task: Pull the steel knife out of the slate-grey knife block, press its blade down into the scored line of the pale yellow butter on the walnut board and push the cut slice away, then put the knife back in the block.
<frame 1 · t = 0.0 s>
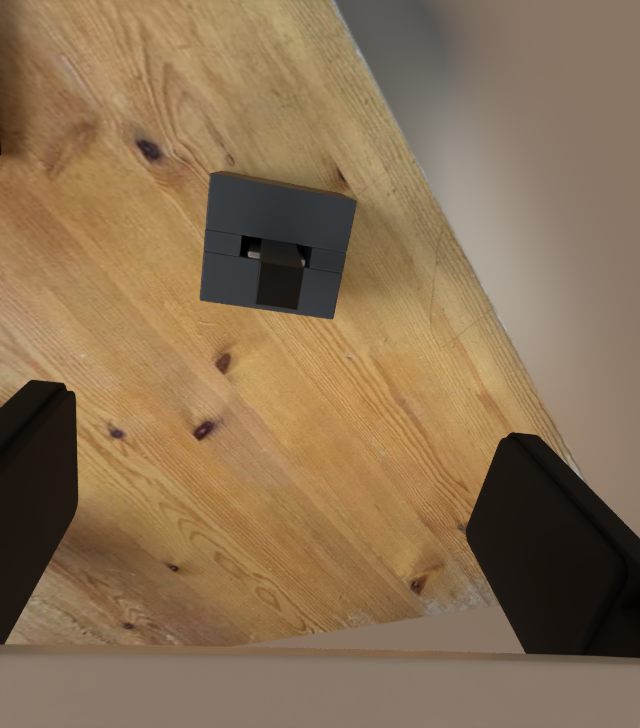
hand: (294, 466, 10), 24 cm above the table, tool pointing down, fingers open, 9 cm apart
knife: (276, 255, 25), in the knife block
knife block: (274, 236, 32), on the table
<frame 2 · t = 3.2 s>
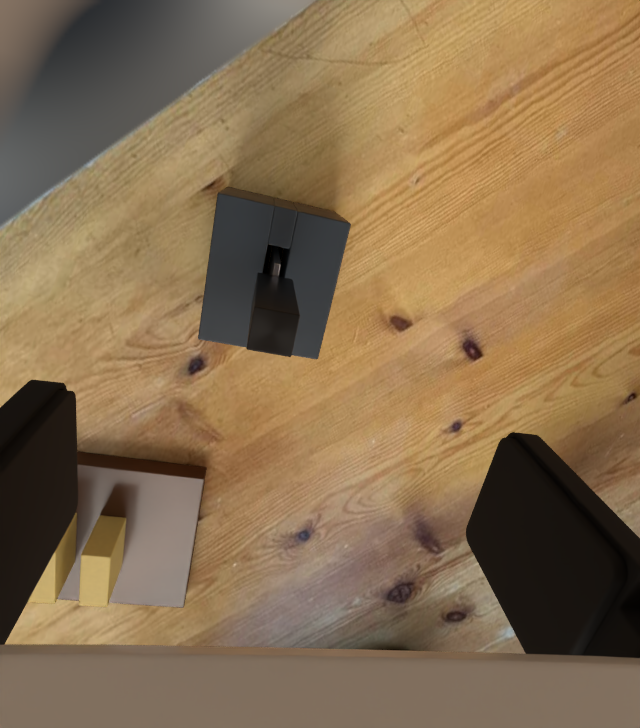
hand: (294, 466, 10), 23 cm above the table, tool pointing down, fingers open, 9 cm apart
board: (70, 522, 38), on the table
knife: (271, 287, 24), in the knife block
butter: (35, 533, 36), point 1 cm above the table, touching board
butter slice: (111, 540, 37), point 1 cm above the table, touching board
knife block: (271, 261, 31), on the table
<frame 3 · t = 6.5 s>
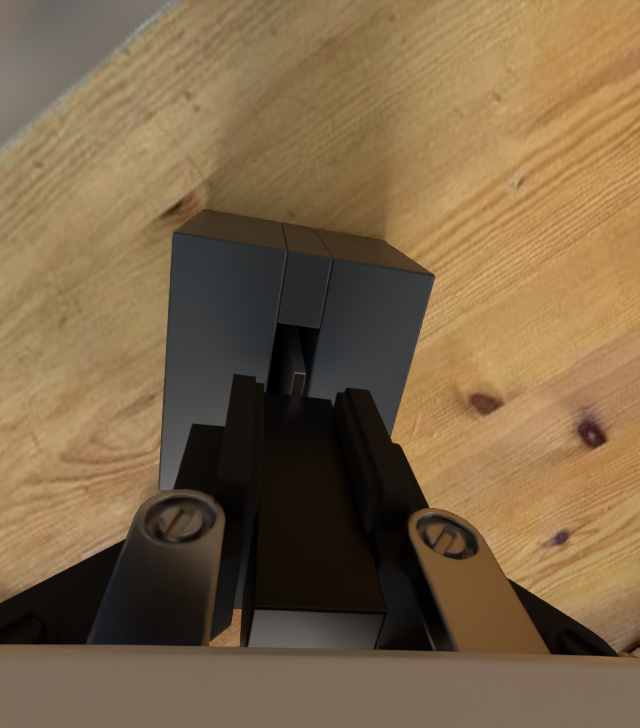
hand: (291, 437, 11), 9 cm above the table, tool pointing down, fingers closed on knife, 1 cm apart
knife: (289, 406, 13), in the knife block, touching gripper
knife block: (282, 324, 19), on the table
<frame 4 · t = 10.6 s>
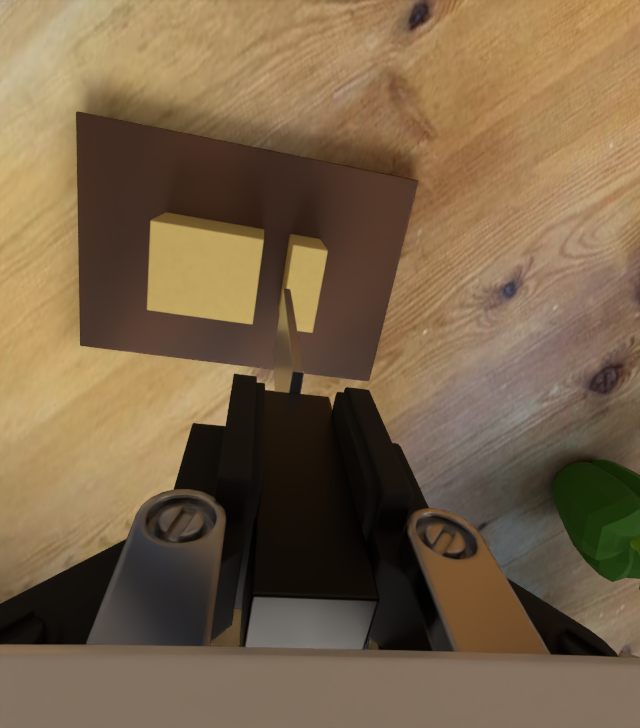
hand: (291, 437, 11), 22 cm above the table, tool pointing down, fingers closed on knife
bell pepper: (577, 480, 42), on the table
board: (244, 261, 31), on the table
knife: (288, 404, 13), point 20 cm above the table, touching gripper
butter: (212, 261, 29), point 1 cm above the table, touching board
butter slice: (298, 274, 30), point 1 cm above the table, touching board
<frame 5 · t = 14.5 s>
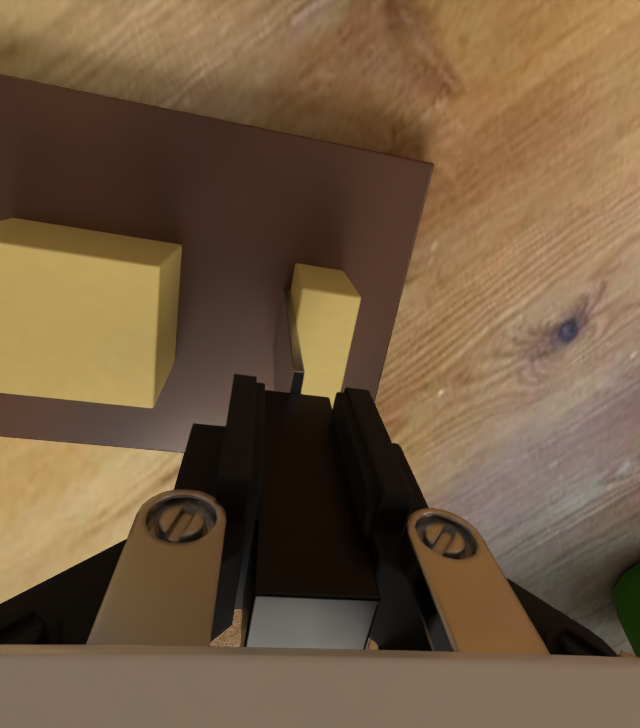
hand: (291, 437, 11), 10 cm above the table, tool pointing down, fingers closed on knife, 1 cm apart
board: (160, 293, 20), on the table
knife: (288, 404, 13), point 8 cm above the table, touching board, butter slice, gripper
butter: (99, 296, 18), point 1 cm above the table, touching board
butter slice: (309, 325, 20), point 2 cm above the table, touching board, knife
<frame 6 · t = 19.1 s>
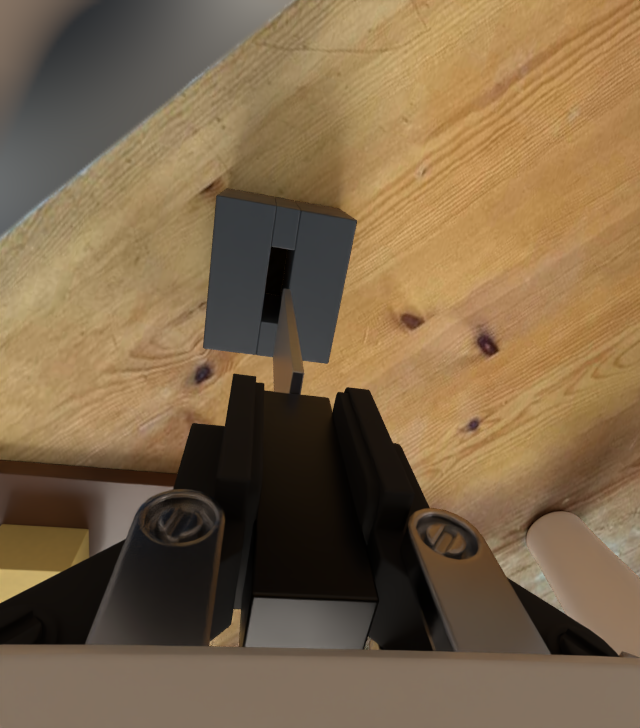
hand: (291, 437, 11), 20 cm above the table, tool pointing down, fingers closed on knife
board: (82, 538, 37), on the table
knife: (287, 404, 13), point 18 cm above the table, touching gripper
butter: (47, 551, 35), point 1 cm above the table, touching board
knife block: (275, 263, 30), on the table
drinking glass: (550, 529, 42), on the table
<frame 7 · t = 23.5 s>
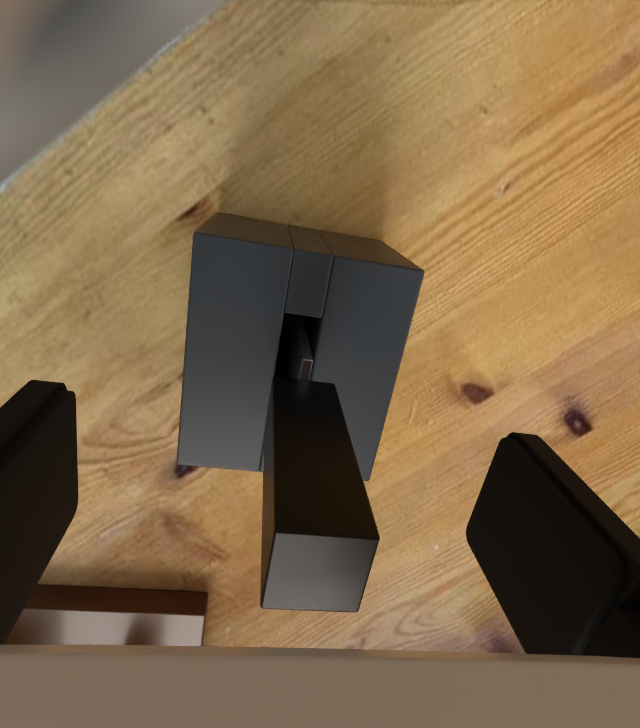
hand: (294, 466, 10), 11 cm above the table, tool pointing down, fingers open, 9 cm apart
board: (29, 668, 28), on the table
knife: (297, 391, 14), in the knife block
knife block: (287, 318, 21), on the table
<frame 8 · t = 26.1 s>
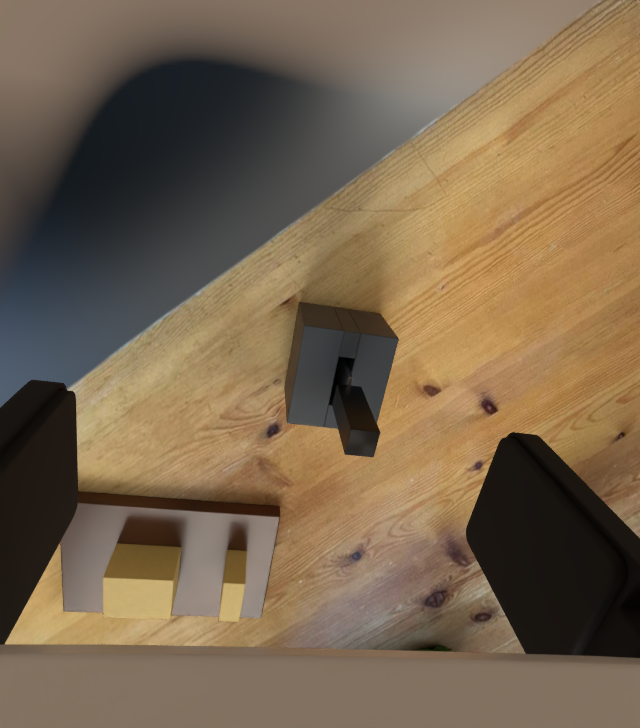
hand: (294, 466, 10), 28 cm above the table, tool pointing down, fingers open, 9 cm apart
board: (172, 553, 47), on the table
knife: (344, 389, 34), in the knife block
butter: (148, 564, 45), point 1 cm above the table, touching board
butter slice: (234, 568, 47), point 1 cm above the table, touching board
knife block: (331, 351, 40), on the table
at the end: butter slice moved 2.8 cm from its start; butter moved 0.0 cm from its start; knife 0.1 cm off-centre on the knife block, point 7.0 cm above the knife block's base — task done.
